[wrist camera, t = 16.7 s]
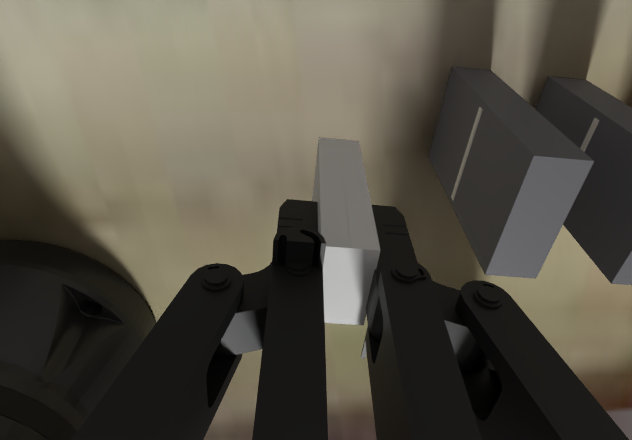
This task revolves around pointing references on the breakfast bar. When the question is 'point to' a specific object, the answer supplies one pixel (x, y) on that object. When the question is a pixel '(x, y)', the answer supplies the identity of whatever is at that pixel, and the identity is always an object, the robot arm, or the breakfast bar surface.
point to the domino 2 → (597, 170)
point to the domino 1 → (504, 172)
